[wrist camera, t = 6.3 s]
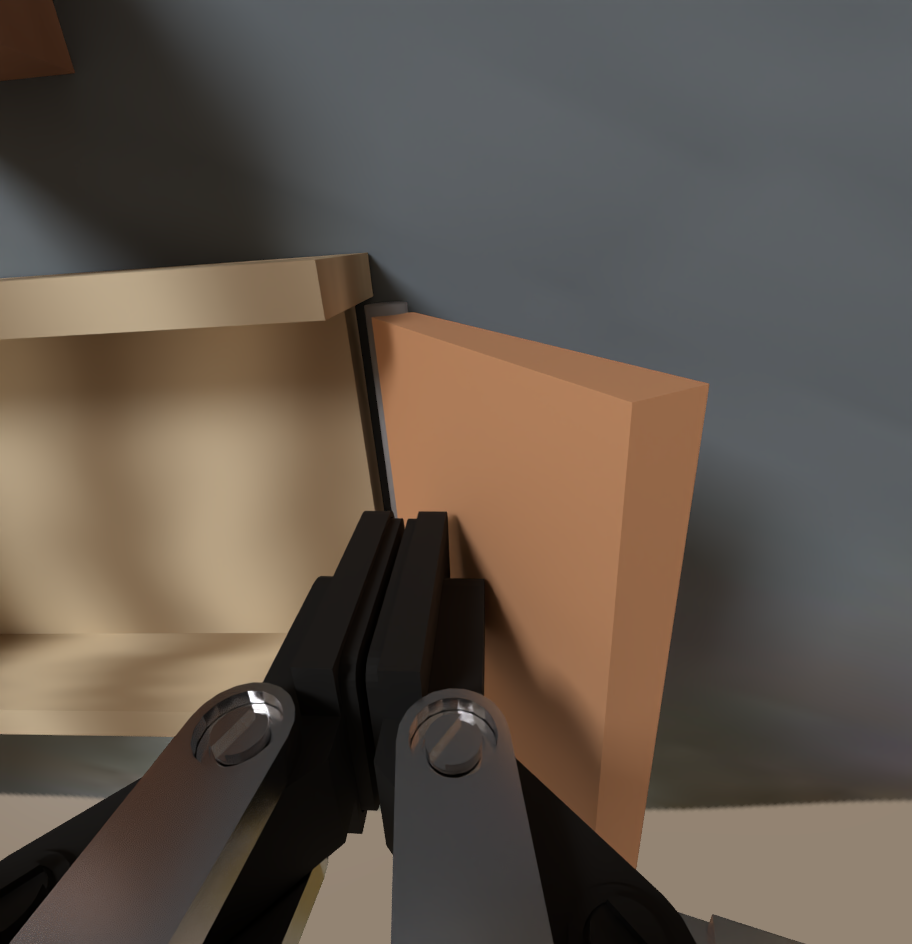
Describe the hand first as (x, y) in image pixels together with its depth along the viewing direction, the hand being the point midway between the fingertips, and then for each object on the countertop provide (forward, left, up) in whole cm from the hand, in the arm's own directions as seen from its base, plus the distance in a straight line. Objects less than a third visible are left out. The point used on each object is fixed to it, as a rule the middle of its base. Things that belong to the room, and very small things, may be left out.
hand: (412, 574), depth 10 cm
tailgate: (+1, 0, -4) cm, 4 cm away
